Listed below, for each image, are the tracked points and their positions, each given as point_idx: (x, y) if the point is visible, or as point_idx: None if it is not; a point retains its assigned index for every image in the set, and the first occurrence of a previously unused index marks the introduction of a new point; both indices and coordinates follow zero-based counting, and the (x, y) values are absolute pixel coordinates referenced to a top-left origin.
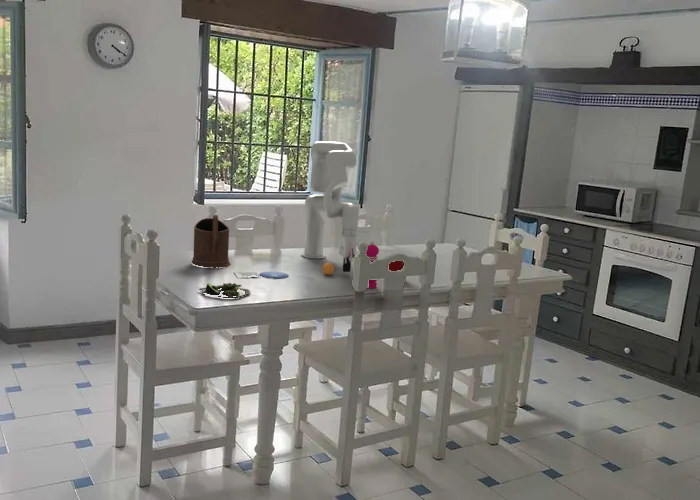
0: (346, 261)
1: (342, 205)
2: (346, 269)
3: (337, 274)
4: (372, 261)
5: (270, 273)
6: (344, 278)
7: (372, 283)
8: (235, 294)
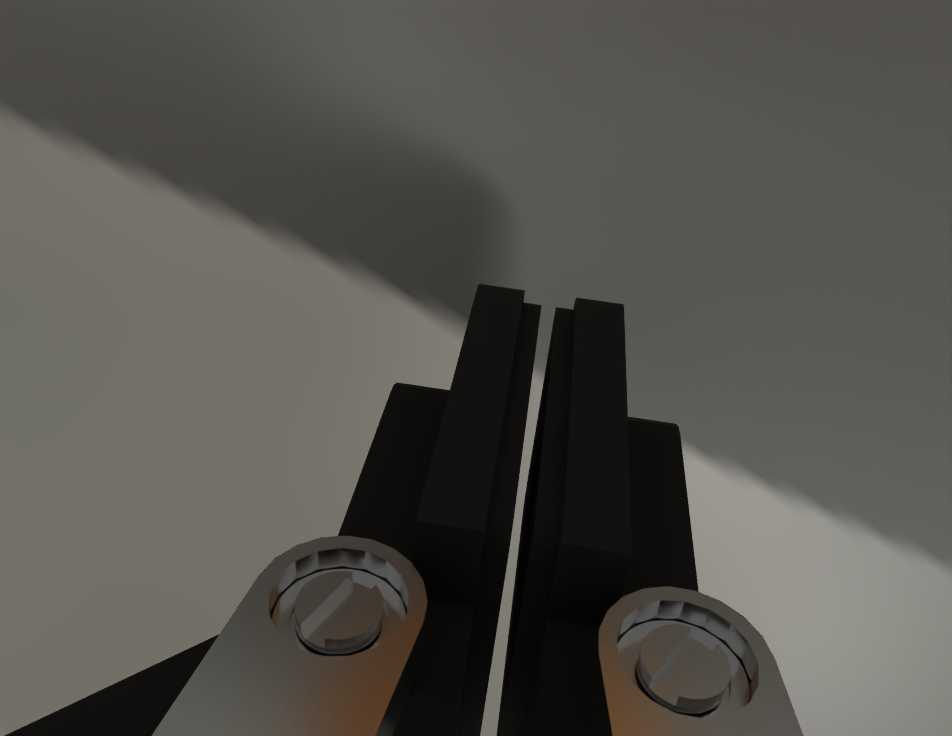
0: (212, 682)
1: None
2: (388, 403)
3: (668, 33)
4: None
5: None
6: (6, 26)
7: None
8: None
